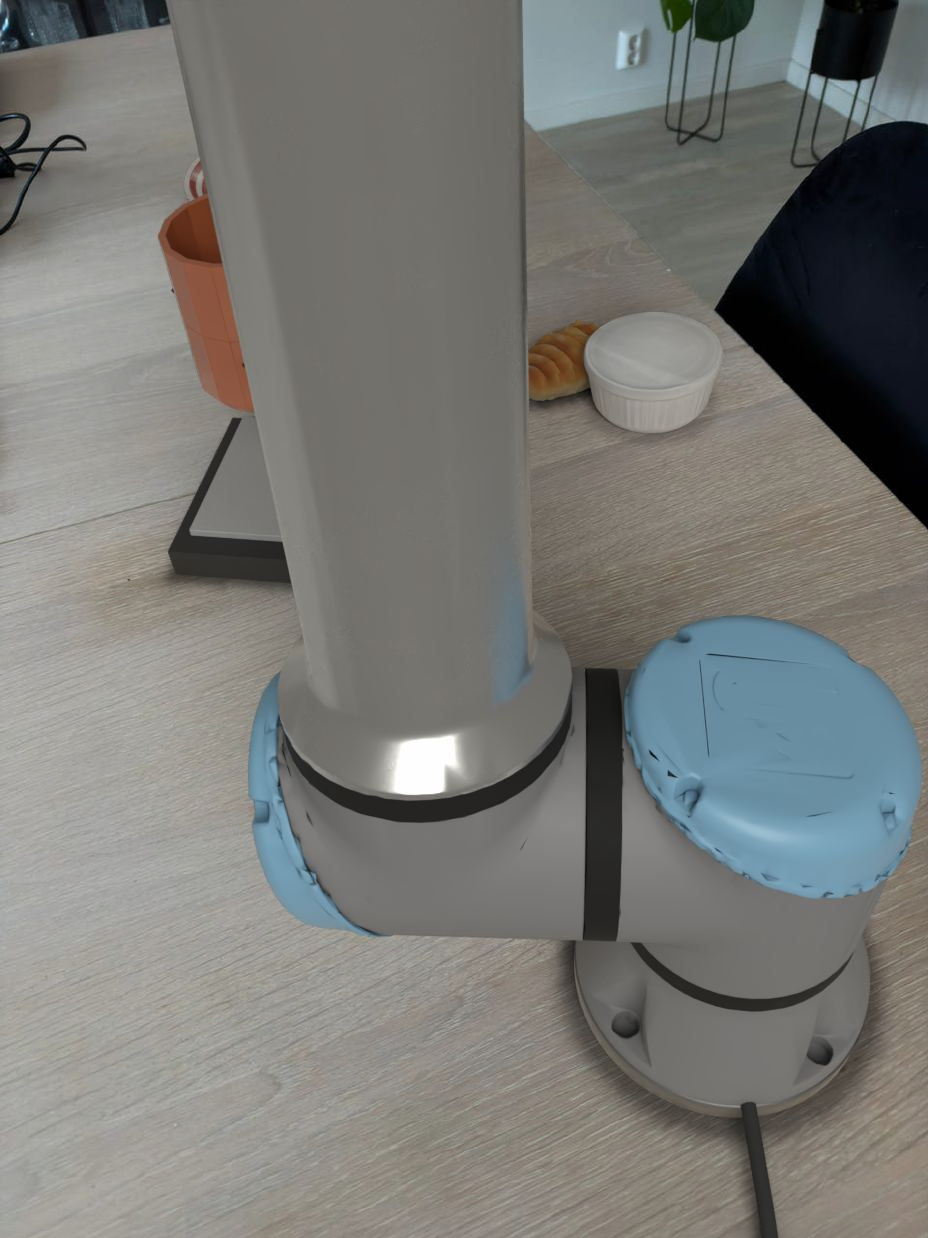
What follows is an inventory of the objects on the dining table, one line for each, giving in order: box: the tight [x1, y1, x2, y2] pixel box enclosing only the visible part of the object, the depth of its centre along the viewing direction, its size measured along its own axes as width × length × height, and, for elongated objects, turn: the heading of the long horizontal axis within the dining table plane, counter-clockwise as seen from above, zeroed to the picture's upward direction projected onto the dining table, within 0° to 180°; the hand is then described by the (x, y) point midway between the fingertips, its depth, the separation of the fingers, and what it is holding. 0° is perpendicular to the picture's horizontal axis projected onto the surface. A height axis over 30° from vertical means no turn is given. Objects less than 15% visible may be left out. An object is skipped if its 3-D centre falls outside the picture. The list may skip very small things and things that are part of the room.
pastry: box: [528, 319, 601, 402], centre depth 94 cm, size 9×7×4 cm
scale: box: [167, 416, 292, 584], centre depth 85 cm, size 16×16×3 cm
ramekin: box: [584, 311, 724, 434], centre depth 91 cm, size 11×11×5 cm
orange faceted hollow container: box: [157, 194, 255, 413], centre depth 72 cm, size 10×10×11 cm
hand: (223, 336), depth 73 cm, fingers closed on orange faceted hollow container, 10 cm apart
